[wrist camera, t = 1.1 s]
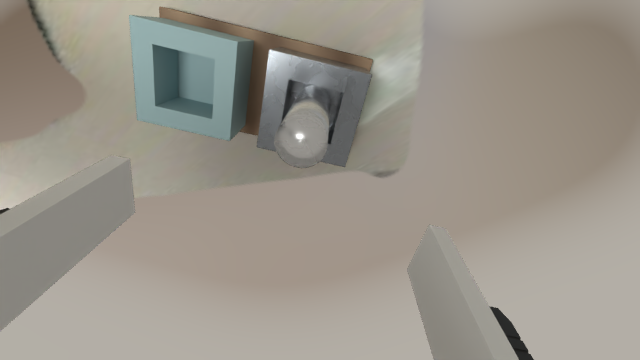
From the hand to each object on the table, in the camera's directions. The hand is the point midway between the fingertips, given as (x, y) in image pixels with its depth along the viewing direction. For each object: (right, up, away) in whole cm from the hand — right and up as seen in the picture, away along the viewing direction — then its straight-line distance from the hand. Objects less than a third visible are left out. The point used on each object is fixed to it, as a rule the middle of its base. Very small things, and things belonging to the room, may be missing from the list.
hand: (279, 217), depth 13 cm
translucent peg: (+1, +11, +21) cm, 24 cm away
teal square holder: (-12, +14, +21) cm, 28 cm away
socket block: (+1, +11, +22) cm, 25 cm away
